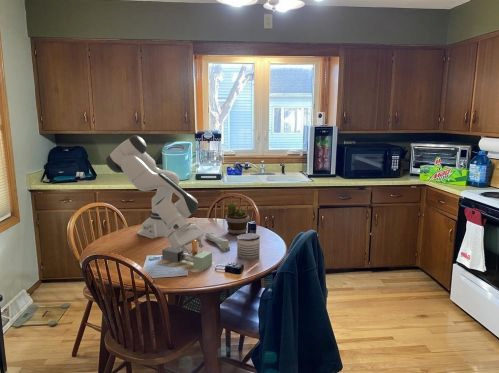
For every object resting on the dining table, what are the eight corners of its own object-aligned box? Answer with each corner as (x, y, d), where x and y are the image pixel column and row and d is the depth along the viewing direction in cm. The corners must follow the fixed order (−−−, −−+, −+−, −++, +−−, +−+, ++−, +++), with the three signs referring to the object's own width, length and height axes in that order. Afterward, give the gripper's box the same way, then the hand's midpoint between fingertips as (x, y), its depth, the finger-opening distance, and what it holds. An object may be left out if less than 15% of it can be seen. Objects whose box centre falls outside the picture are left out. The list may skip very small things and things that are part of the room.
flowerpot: (248, 228, 239) (249, 197, 235) (249, 236, 224) (249, 203, 220) (225, 228, 238) (225, 197, 234) (224, 236, 223) (224, 203, 219)
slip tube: (176, 259, 182) (175, 237, 180) (179, 257, 185) (179, 236, 183) (203, 266, 175) (203, 243, 173) (207, 263, 178) (207, 241, 175)
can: (242, 263, 183) (242, 240, 181) (233, 255, 194) (233, 233, 191) (263, 260, 188) (263, 237, 186) (254, 252, 198) (254, 230, 196)
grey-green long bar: (212, 231, 220) (231, 238, 198) (213, 243, 221) (232, 250, 199) (204, 233, 218) (222, 239, 196) (204, 244, 218) (223, 252, 196)
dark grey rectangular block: (162, 259, 185) (162, 249, 184) (169, 256, 189) (168, 246, 188) (177, 262, 181) (177, 253, 180) (183, 259, 185) (183, 249, 184)
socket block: (193, 268, 175) (193, 256, 174) (203, 262, 182) (203, 250, 181) (202, 270, 172) (202, 258, 171) (212, 264, 179) (211, 252, 178)
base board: (155, 264, 181) (155, 262, 181) (174, 254, 194) (174, 253, 193) (198, 275, 170) (198, 272, 170) (215, 264, 182) (215, 262, 182)
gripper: (188, 225, 190) (205, 247, 188) (161, 236, 172) (179, 260, 170) (195, 217, 187) (212, 239, 185) (169, 228, 170) (187, 253, 167)
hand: (196, 250), depth 177 cm, fingers open, 8 cm apart
